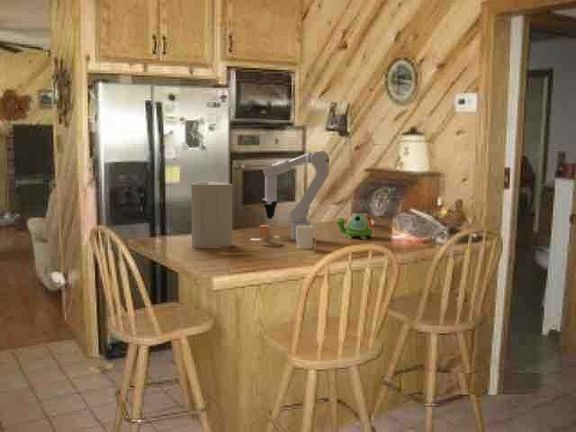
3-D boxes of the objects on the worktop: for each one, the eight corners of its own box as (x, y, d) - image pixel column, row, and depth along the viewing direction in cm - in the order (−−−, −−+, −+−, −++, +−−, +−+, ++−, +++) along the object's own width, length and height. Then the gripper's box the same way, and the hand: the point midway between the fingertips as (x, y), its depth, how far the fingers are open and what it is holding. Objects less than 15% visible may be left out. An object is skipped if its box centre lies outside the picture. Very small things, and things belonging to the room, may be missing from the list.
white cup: (315, 250, 261) (315, 227, 259) (297, 250, 259) (297, 228, 258) (311, 247, 268) (311, 225, 267) (294, 247, 267) (294, 225, 266)
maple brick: (279, 243, 272) (279, 236, 272) (278, 245, 267) (278, 237, 267) (261, 243, 273) (261, 235, 272) (260, 245, 268) (260, 237, 267)
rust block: (270, 235, 272) (270, 225, 271) (269, 237, 267) (269, 226, 267) (260, 235, 272) (260, 224, 271) (259, 237, 268) (259, 226, 267)
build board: (286, 240, 284) (286, 239, 284) (283, 247, 266) (283, 246, 266) (249, 239, 286) (249, 238, 286) (243, 246, 267) (243, 245, 267)
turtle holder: (339, 234, 305) (340, 211, 303) (374, 236, 299) (375, 213, 298) (333, 238, 293) (334, 214, 292) (370, 240, 288) (370, 216, 286)
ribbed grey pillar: (181, 244, 271) (181, 182, 268) (209, 240, 281) (209, 181, 277) (205, 250, 257) (204, 185, 253) (233, 246, 267) (233, 184, 263)
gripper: (264, 188, 296) (264, 215, 298) (260, 190, 282) (260, 219, 284) (278, 188, 296) (278, 215, 298) (275, 191, 281) (275, 219, 283)
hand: (270, 217), depth 291 cm, fingers open, 7 cm apart
